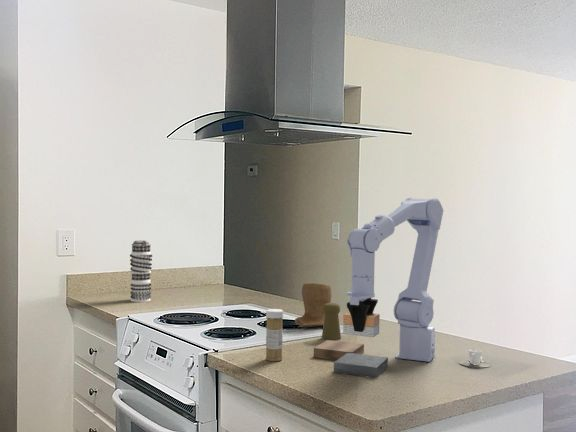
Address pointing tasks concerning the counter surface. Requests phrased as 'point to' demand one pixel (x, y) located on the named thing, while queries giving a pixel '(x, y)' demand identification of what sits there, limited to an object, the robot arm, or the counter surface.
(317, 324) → the tan boot
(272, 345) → the sprinkles bottle
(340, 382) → the counter surface
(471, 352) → the teacup and saucer
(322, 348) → the stand
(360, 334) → the block
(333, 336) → the olive tapered column
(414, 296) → the robot arm
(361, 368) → the stand
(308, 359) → the counter surface
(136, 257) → the decorative candle
